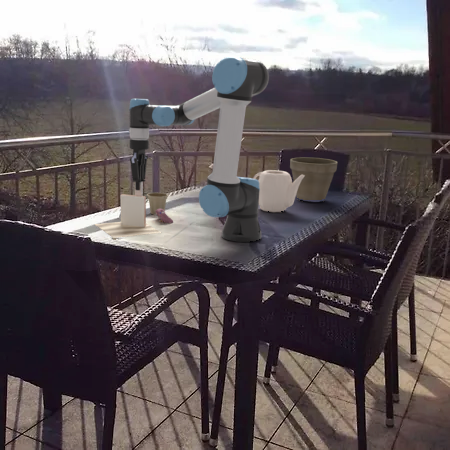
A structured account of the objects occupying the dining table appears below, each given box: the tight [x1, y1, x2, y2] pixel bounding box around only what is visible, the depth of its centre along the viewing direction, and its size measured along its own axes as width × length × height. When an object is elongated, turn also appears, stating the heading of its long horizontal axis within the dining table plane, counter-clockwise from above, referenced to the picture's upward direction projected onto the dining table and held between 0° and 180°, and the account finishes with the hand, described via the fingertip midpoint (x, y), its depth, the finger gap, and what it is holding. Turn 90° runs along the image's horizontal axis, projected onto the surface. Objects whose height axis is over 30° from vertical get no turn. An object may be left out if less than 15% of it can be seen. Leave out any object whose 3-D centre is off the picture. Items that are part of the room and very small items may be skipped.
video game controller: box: [154, 209, 174, 224], centre depth 213 cm, size 10×5×7 cm, turn 21°
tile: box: [120, 193, 147, 227], centre depth 202 cm, size 10×2×12 cm, turn 77°
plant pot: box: [289, 157, 338, 200], centre depth 273 cm, size 25×25×22 cm
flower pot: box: [146, 192, 169, 216], centre depth 228 cm, size 9×9×9 cm
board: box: [94, 221, 162, 241], centre depth 198 cm, size 22×19×1 cm
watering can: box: [252, 169, 305, 213], centre depth 243 cm, size 16×27×19 cm, turn 62°
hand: (138, 197), depth 207 cm, fingers closed
